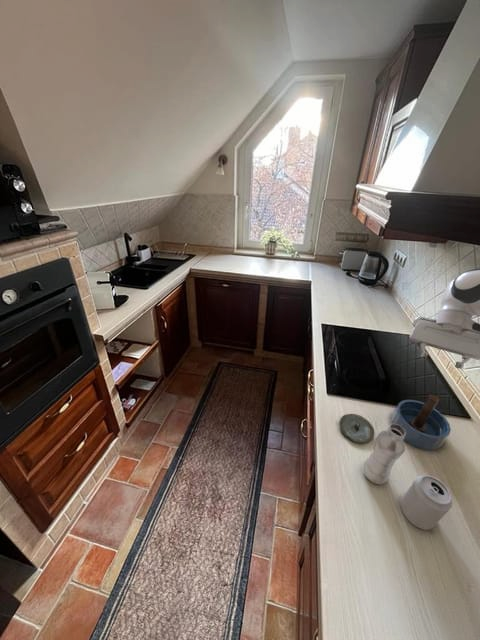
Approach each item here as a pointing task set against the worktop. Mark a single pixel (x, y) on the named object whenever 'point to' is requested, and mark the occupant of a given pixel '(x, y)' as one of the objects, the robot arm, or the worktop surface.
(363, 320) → the worktop surface
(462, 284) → the robot arm
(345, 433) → the lid
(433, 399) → the stirring stick
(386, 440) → the plastic bottle
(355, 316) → the worktop surface
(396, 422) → the bowl
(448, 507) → the can
